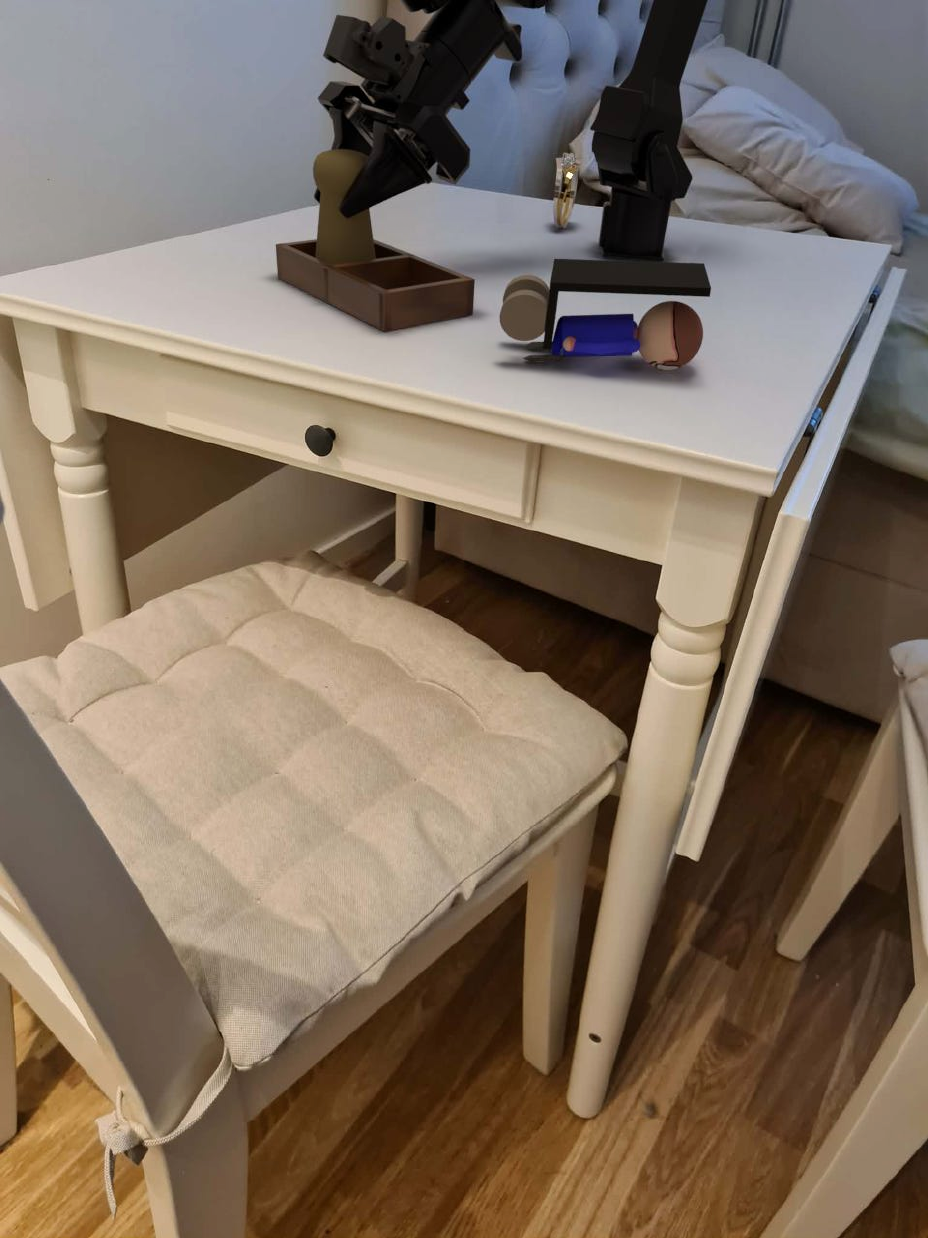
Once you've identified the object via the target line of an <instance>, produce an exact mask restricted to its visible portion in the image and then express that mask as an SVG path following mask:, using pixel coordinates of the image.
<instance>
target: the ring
mask: <svg viewBox="0 0 928 1238" xmlns="http://www.w3.org/2000/svg"><path fill="white" fill-rule="evenodd" d="M579 156H580V153H578V152H576V153H575V154H574V153H573V152H569V153H568V152H564V151H563V154H562V157H555V162H556V174H555V183H554V191H553V202H552V203H553V205H552V213H553V214H552V215H553V222H554V225H555V226H556V227H557V228H558V229H567V225H568V224H569V221H570V219H571V218H572V214H573V211H574V206H575V201H576V195H577V189H578V179H579V171H580V166H581V165H582V163H583V160H582V159H579ZM563 177H564V182H563ZM562 183H563V185H562ZM564 203H565V205H564ZM563 208H564V209H563Z"/></svg>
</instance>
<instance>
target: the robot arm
mask: <svg viewBox="0 0 928 1238" xmlns="http://www.w3.org/2000/svg"><path fill="white" fill-rule="evenodd" d="M399 1H400V2H401V4H402V5H403V7H404V8H405V9H406V11H408V12H409V13H416V12H419V11H423V13H424V14H425V15H430V14H433V15H431V17H430V18H429V19H428V21H427V22H426V24H425V25H424V26H423V27H422V29H421V30H420V31H419V33H418V34H417V35H416V37H414V39H413V40H408V39H407V38H406V37H407V31H406V30H407V29H406V26H405V25H403V24H401V23H400V22H399V21H397V20H396V19H394V18H393V17H388V16H380V17H379V18H378V19H376V21H374V23H373V24H372V25H371V23H370V22H369V21H368V20H362V19H360V18H358V17H355V16H349V15H343V14H342V15H341V14H336V15H335V18H334V21H333V24H332V27H331V29H330V30H331V31H330V34H329V36H328V39H327V42H326V44H325V48H324V51H323V54H322V56H323V58H324V59H326V61H329V62H331V64H339V65H340V66H342V67H344V68H346V69H347V70H349V71H351V72H353V73H354V74H355V75H357V76H359V77H361V78H362V79H364V80H363V81H362V82H361V83H360V85H358V84H356V83H355V84H354V83H351V82H347V81H335V80H334V81H332V80H331V81H329V82H328V83H327V85H326V86H325V88H324V89H323V90H322V91H321V92H320V94H319V95H318V97H317V100H318V103H319V104H320V105H321V106H322V107H323V109H324V110H325V111H326V112H327V113H328V115H329V117H330V119H331V121H332V127H333V134H334V137H333V140H332V145H331V148H330V150H334V149H348V150H353V151H357V152H360V153H363V154H365V155H366V156H368V159H367V160H366V162H365V164H364V165H363V167H362V169H361V170H360V172H359V173H358V175H357V177H356V178H355V180H354V182H353V183H352V185H351V187H350V188H349V190H348V191H347V193H346V195H345V197H344V199H343V201H342V202H341V204H340V206H339V211H340V212H341V213H342V215H343V216H344V217H346V218H350V217H352V216H354V215H356V214H358V213H361V212H363V211H365V210H367V209H371V208H373V207H374V206H377V205H379V204H381V203H383V202H385V201H387V200H389V199H392V198H395V197H396V196H398V195H400V194H403V193H406V192H408V191H410V190H412V189H415V188H417V187H419V186H423V185H425V184H426V185H429V184H431V183H433V181H434V179H433V177H432V176H431V175H430V171H431V169H432V168H433V167H434V165H435V164H436V163H437V164H436V169H435V175H436V176H437V178H438V179H439V180H441V181H444V182H446V183H449V184H451V185H456V184H457V183H458V182H459V180H460V179H461V178H462V177H463V175H464V174H465V173H466V172H467V170H468V169H469V168H470V165H471V163H470V161H471V148H470V146H469V145H468V143H466V141H465V140H464V138H463V137H462V136H461V134H460V132H458V130H457V129H456V128H455V126H454V125H453V123H452V122H451V121H450V120H449V118H448V116H447V115H448V114H449V112H451V110H452V109H455V110H456V109H457V110H460V111H463V110H464V109H465V108H466V106H467V105H468V104H469V103H470V101H471V100H470V99H469V97H468V96H467V94H466V93H465V92H466V91H467V90H468V89H469V87H470V86H471V85H472V83H473V82H474V81H475V79H476V78H477V77H478V76H479V74H480V73H481V72H482V70H483V69H484V68H485V66H486V65H487V64H488V63H489V61H490V60H491V59H492V57H493V56H494V58H496V59H498V60H504V61H510V62H517V63H519V62H521V61H522V58H523V44H522V38H521V35H522V30H523V27H522V25H521V24H520V23H510V22H509V21H508V20H507V18H506V16H505V15H504V13H503V11H502V10H501V9H500V7H508V8H509V7H510V8H520V9H530V10H531V9H532V10H536V9H537V10H539V9H541V8H544V7H546V6H547V5H548V4H549V3H550V2H551V1H552V0H399ZM708 1H709V0H652V4H651V8H650V10H649V14H648V17H647V19H646V23H645V26H644V29H643V33H642V36H641V39H640V43H639V45H638V49H637V52H636V55H635V58H634V62H633V65H632V68H631V70H630V71H629V73H628V75H626V77H625V78H624V79H623V81H622V82H621V83H620V85H619V86H613V85H605V86H604V88H603V91H602V92H601V95H600V101H599V105H598V111H597V113H596V116H595V118H594V121H593V122H592V123H591V125H590V127H589V129H590V131H591V132H593V135H592V140H591V152H592V153H593V156H594V160H595V162H596V165H597V171H598V172H597V173H598V178H599V184H600V186H603V187H609V188H610V197H609V201H605V202H604V203H603V207H602V216H601V223H600V229H599V236H598V246H599V248H600V249H601V248H602V249H601V250H602V257H607V258H615V259H627V260H639V261H650V262H665V261H664V260H665V253H664V248H665V247H664V246H665V240H666V236H667V235H666V234H667V228H668V224H669V217H670V213H671V206H672V202H675V201H676V200H679V199H680V200H681V199H685V197H686V196H687V193H688V191H689V188H690V187H691V184H692V181H693V174H692V172H691V171H690V168H689V167H688V164H687V163H686V161H685V159H684V157H683V155H682V153H681V151H680V150H679V147H678V144H679V140H680V135H681V132H682V131H681V130H682V127H683V121H684V117H683V116H684V115H683V108H682V98H681V90H680V86H681V82H682V79H683V76H684V73H685V70H686V66H687V64H688V61H689V58H690V55H691V51H692V49H693V46H694V43H695V40H696V37H697V34H698V32H699V28H700V25H701V22H702V19H703V16H704V13H705V10H706V7H707V4H708ZM370 97H371V98H372V100H373V101H372V100H371V99H370ZM320 194H321V192H320V191H319V189H318V188H317V187H316V189H315V192H314V194H313V198H314V200H315V201H316V202H317V203H318V204H319V205H320Z"/></svg>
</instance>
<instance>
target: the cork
mask: <svg viewBox="0 0 928 1238" xmlns="http://www.w3.org/2000/svg"><path fill="white" fill-rule="evenodd" d="M367 159H368V156H366V155H365V154H363V153H360V152H357V151H353V150H348V149H334V150H331V149H329V150H325V151H321V152H320V153H319V154H317V155H316V157H315V159H314V161H313V167H312V175H313V179H314V183H315V184H314V185H315V186H316V189H317V188H318V189H319V191H320V192H321V194H320V204H319V207H318V219H317V220H318V221H317V233H316V239H317V244H316V256H315V258H317V259H319V260H321V261H323V262H325V263H328V264H330V265H335V264H342V263H349V262H357V261H364V260H371V259H376V256H375V248H374V240H373V239H374V232H373V226H372V225H373V224H372V218H371V211H370V210H371V208H369V209H367V210H365V211H363V212H361V213H358V214H356V215H354V216H352V217H350V218H346V217H344V216H343V215H342V213H341V212H340V211H339V206H340V204H341V202H342V201H343V199H344V197H345V195H346V193H347V191H348V190H349V188H350V187H351V185H352V183H353V182H354V180H355V178H356V177H357V175H358V173H359V172H360V170H361V169H362V167H363V165H364V164H365V162H366V160H367Z"/></svg>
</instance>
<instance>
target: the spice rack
mask: <svg viewBox="0 0 928 1238" xmlns="http://www.w3.org/2000/svg"><path fill="white" fill-rule="evenodd" d="M373 240H374V248H375V256H376V259H371V260H364V261H357V262H349V263H342V264H335V265H330V264H328V263H325V262H323V261H321V260H319V259H317V258H315V256H316V244H317V238H316V239H308V240H299V241H289V242H282V243H276V244H275V257H276V269H277V270H276V271H277V279H278V280H281V281H283V282H285V283H287V284H289V285H291V286H293V287H295V288H297V289H299V290H300V291H303V292H305V293H306V294H308V295H311V296H313V297H315V298H317V299H319V300H321V301H323V302H325V303H326V304H329V305H331V306H332V307H335V308H336V309H338V310H341V311H343V312H345V313H346V314H349V315H350V316H353V317H354V318H357V319H359V320H361V321H362V322H364V323H367V324H369V325H370V326H373V327H374V328H376V329H377V330H380V331H382V332H390V331H395V330H400V329H404V328H405V329H406V328H412V327H415V326H416V327H417V326H421V325H427V324H433V323H438V322H442V321H447V320H448V321H449V320H453V319H457V318H464V317H468V316H473V315H474V303H475V301H474V300H475V285H476V284H475V283H476V279H475V278H473V277H471V276H469V275H465V274H463V273H461V272H458V271H456V270H453V269H450V268H448V267H445V266H442V265H440V264H438V263H435V262H433V261H430V260H428V259H425V258H423V257H420V256H418V255H415V254H413V253H410V252H408V251H405V250H402V249H400V248H397V247H394V246H392V245H390V244H387V243H384V242H382V241H380V240H377V239H375V238H373Z"/></svg>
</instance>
